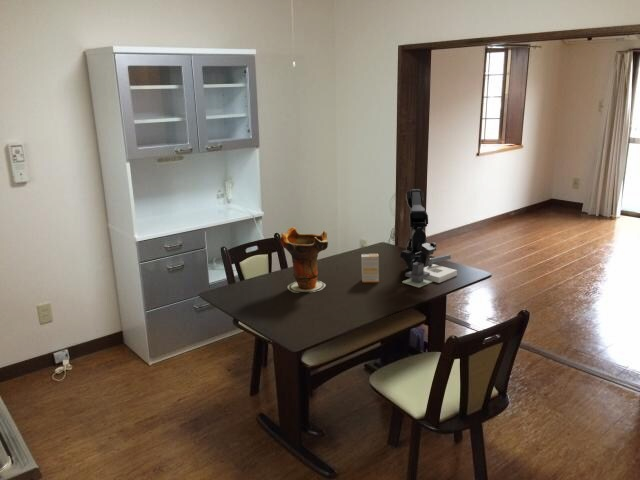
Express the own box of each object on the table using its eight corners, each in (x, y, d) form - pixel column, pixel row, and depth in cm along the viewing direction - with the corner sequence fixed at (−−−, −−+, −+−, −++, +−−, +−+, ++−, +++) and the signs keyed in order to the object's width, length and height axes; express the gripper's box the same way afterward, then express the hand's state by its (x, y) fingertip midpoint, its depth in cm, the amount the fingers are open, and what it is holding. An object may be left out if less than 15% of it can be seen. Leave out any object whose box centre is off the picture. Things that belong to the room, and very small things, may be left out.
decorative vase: (328, 294, 244) (322, 234, 237) (279, 295, 249) (272, 236, 242) (336, 279, 263) (331, 223, 256) (290, 280, 268) (284, 225, 261)
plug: (405, 281, 255) (405, 263, 253) (416, 277, 260) (416, 259, 258) (418, 285, 250) (418, 267, 247) (429, 281, 255) (429, 263, 252)
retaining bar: (429, 266, 267) (429, 259, 266) (427, 265, 268) (427, 258, 267) (450, 262, 272) (451, 255, 271) (448, 261, 274) (448, 254, 273)
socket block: (415, 276, 263) (415, 270, 262) (433, 269, 272) (433, 264, 271) (439, 283, 253) (439, 277, 252) (456, 276, 262) (457, 270, 261)
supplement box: (379, 279, 262) (378, 253, 259) (379, 282, 258) (378, 256, 254) (361, 279, 263) (361, 253, 259) (361, 282, 258) (361, 256, 255)
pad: (402, 283, 256) (402, 281, 256) (415, 277, 262) (415, 276, 262) (418, 288, 248) (418, 286, 248) (432, 282, 255) (432, 281, 254)
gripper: (418, 244, 237) (418, 277, 242) (444, 235, 249) (443, 267, 253) (399, 239, 245) (399, 272, 250) (425, 231, 257) (424, 262, 261)
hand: (417, 268), depth 253 cm, fingers open, 9 cm apart
